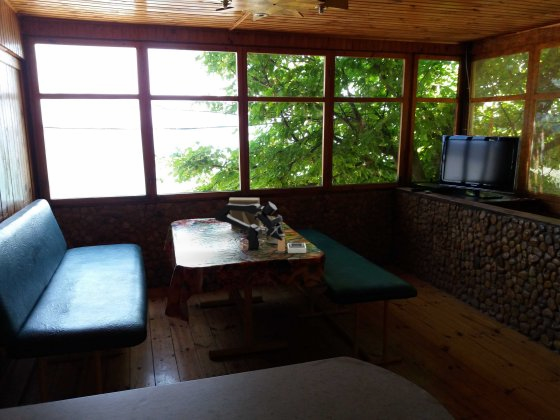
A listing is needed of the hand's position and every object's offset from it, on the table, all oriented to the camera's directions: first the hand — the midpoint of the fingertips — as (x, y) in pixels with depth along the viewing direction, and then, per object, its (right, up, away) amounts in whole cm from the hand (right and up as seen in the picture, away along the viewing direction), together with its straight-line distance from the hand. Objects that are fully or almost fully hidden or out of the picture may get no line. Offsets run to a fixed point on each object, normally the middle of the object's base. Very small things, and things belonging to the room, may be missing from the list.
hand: (283, 238), depth 259 cm
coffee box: (-6, -4, +21) cm, 23 cm away
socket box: (+8, -7, +2) cm, 11 cm away
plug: (-1, -7, +2) cm, 8 cm away
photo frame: (-28, +2, +54) cm, 61 cm away
